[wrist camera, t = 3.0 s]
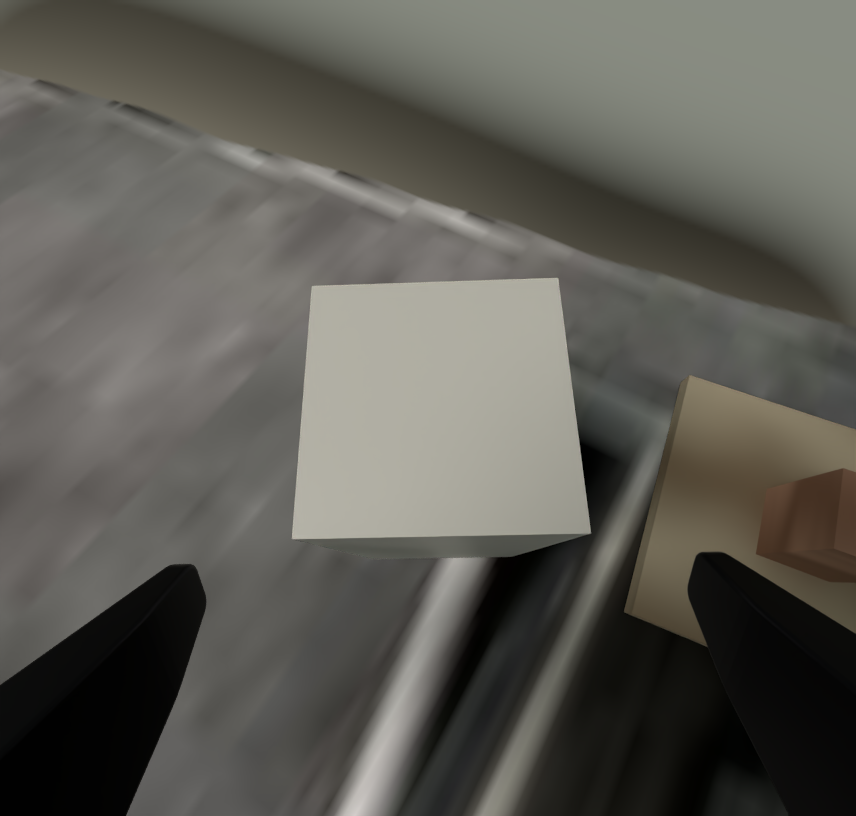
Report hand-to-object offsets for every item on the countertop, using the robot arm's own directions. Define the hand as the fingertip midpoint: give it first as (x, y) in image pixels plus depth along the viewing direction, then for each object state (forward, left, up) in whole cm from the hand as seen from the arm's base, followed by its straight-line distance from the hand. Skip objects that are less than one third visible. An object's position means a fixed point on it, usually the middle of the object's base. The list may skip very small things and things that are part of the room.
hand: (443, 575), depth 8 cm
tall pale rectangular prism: (+3, -2, -10) cm, 11 cm away
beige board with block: (-6, -12, -10) cm, 17 cm away
